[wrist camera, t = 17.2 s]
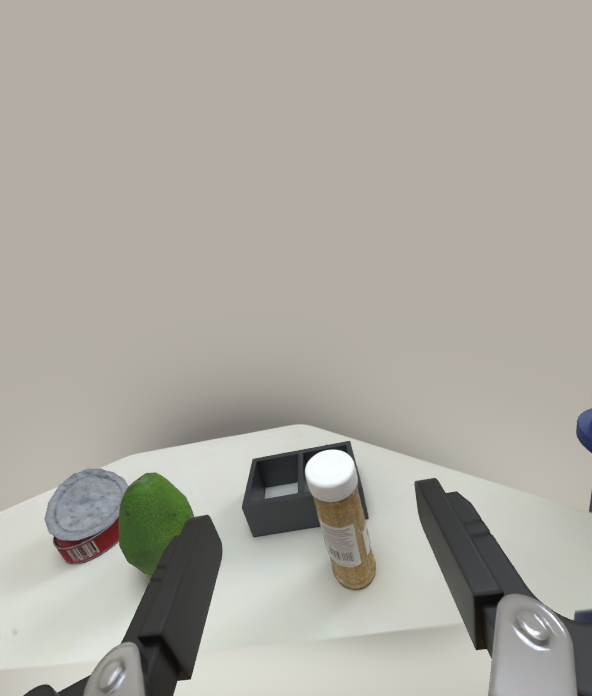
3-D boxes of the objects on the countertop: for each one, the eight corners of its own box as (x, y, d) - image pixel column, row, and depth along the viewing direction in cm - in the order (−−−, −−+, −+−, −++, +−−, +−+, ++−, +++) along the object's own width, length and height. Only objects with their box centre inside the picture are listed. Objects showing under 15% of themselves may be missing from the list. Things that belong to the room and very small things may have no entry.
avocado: (211, 521, 39) (180, 451, 35) (194, 584, 31) (152, 504, 27) (156, 533, 39) (119, 465, 35) (126, 599, 31) (75, 522, 28)
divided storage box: (355, 468, 42) (349, 440, 40) (368, 518, 34) (362, 486, 32) (261, 484, 43) (252, 458, 41) (253, 537, 35) (241, 507, 33)
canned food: (137, 519, 48) (146, 463, 48) (128, 567, 39) (138, 498, 39) (55, 527, 44) (64, 465, 43) (23, 583, 34) (33, 505, 34)
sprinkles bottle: (384, 560, 29) (364, 457, 25) (361, 602, 26) (334, 494, 22) (347, 536, 32) (324, 441, 28) (323, 571, 29) (293, 472, 25)
